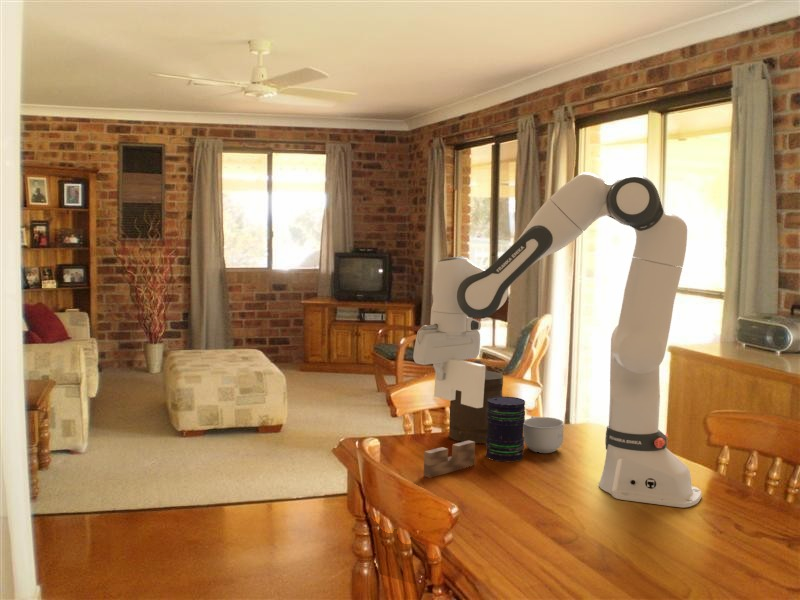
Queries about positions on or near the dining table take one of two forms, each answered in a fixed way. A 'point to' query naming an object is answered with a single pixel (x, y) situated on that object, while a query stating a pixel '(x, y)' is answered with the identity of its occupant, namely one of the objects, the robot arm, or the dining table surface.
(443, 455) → the grey notched block
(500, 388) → the wooden container
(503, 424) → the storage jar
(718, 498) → the dining table surface
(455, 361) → the white arch block
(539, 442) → the teacup
